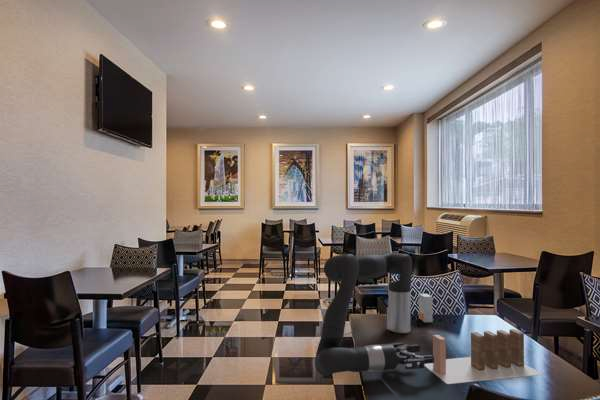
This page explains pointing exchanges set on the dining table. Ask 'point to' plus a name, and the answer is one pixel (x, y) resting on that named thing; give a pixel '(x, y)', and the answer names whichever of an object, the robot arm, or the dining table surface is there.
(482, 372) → the mat
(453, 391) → the dining table surface
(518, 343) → the domino
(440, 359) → the loose domino
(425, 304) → the skincare box
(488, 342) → the domino
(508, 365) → the domino
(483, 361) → the domino
